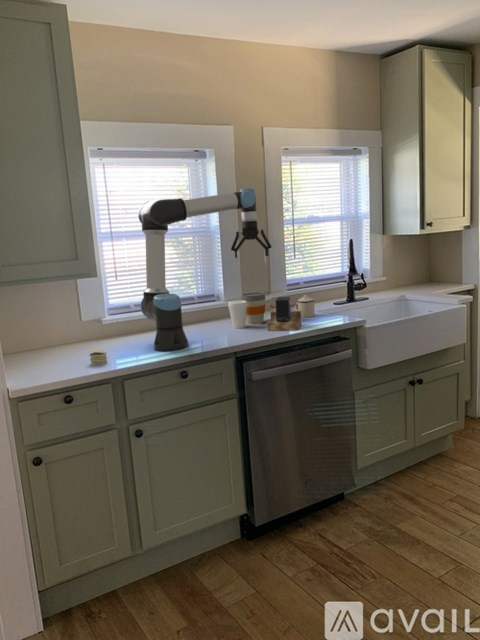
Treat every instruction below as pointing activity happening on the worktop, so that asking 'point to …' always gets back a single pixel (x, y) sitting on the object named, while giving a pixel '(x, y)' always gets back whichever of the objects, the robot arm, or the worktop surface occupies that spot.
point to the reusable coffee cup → (254, 307)
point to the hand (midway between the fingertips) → (252, 263)
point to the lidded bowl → (273, 307)
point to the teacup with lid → (306, 307)
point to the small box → (283, 309)
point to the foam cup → (238, 313)
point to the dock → (285, 322)
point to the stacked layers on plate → (98, 356)
